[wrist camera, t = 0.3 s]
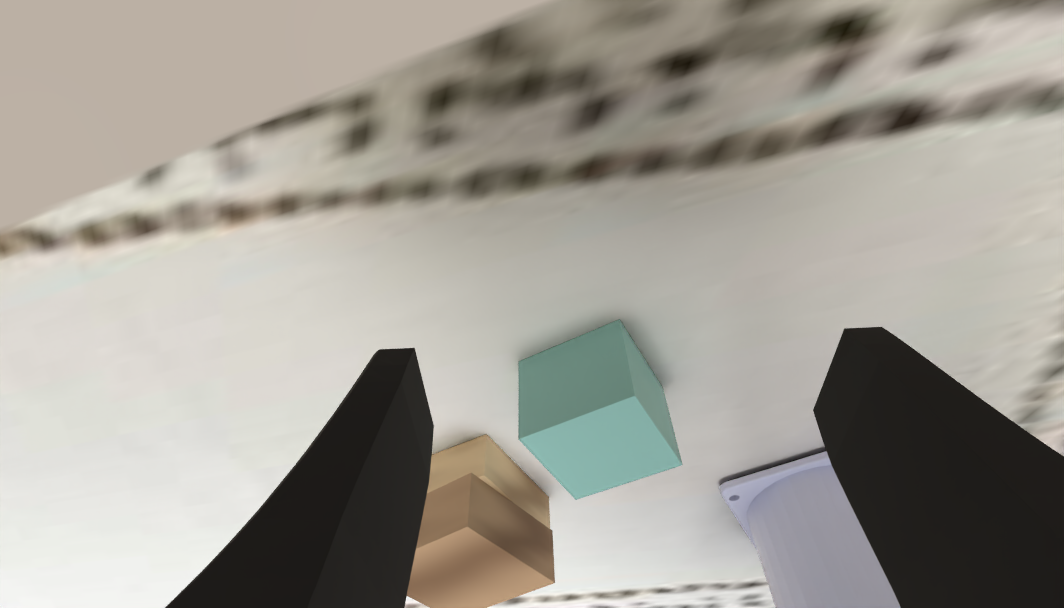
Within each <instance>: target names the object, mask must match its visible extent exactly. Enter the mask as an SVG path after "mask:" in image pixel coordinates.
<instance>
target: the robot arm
mask: <svg viewBox="0 0 1064 608" xmlns="http://www.w3.org/2000/svg"><path fill="white" fill-rule="evenodd" d="M813 411H814V414H815V417H816V421H817V424H818V427H819V430H820V433H821V436H822V440H823V442H824V445H825V448H826V451H825V452H822V453H818V454H815V455H812V456H809V457H805V458H802V459H799V460H796V461H792V462H789V463H786V464H783V465H779V466H776V467H773V468H769V469H766V470H763V471H760V472H756V473H753V474H750V475H747V476H743V477H740V478H737V479H734V480H730V481H727V482H725V483H723V484H721V485H720V487H719V489H720V493H721V496H722V497H723V499H724V500H725V502H726V503H727V505H728V506H729V508H730V509H731V511H732V513H733V514H734V516H735V517H736V519H737V520H738V522H739V523H740V525H741V526H742V528H743V530H744V531H745V533H746V534H747V536H748V537H749V539H750V540H751V542H752V543H753V545H754V546H755V548H756V550H757V551H758V554H759V557H760V561H761V564H762V567H763V570H764V573H765V576H766V579H767V582H768V585H769V588H770V591H771V594H772V597H773V600H774V603H775V607H776V608H1064V456H1062V455H1061V454H1059V453H1058V452H1056V451H1054V450H1053V449H1051V448H1050V447H1049V446H1047V445H1046V444H1044V443H1043V442H1041V441H1040V440H1038V439H1037V438H1035V437H1034V436H1033V435H1031V434H1030V433H1028V432H1027V431H1025V430H1024V429H1022V428H1021V427H1020V426H1018V425H1017V424H1015V423H1014V422H1012V421H1011V420H1010V419H1008V418H1007V417H1005V416H1004V415H1003V414H1001V413H1000V412H998V411H997V410H996V409H994V408H993V407H992V406H990V405H989V404H987V403H986V402H985V401H983V400H982V399H980V398H979V397H978V396H976V395H975V394H974V393H972V392H971V391H970V390H968V389H967V388H965V387H964V386H963V385H961V384H960V383H959V382H957V381H956V380H955V379H953V378H952V377H951V376H949V375H948V374H946V373H945V372H944V371H942V370H941V369H940V368H938V367H937V366H936V365H934V364H933V363H932V362H930V361H929V360H928V359H926V358H925V357H923V356H922V355H921V354H919V353H918V352H917V351H915V350H914V349H913V348H911V347H910V346H908V345H907V344H906V343H904V342H903V341H901V340H900V339H899V338H897V337H896V336H894V335H893V334H891V333H890V332H888V331H887V330H885V329H884V328H882V327H870V328H848V329H844V331H843V334H842V336H841V339H840V342H839V344H838V347H837V349H836V352H835V355H834V357H833V360H832V363H831V365H830V368H829V370H828V373H827V376H826V378H825V381H824V383H823V386H822V389H821V391H820V394H819V397H818V399H817V402H816V404H815V407H814V410H813ZM433 428H434V425H433V421H432V417H431V413H430V409H429V405H428V401H427V397H426V393H425V389H424V385H423V381H422V377H421V373H420V368H419V364H418V360H417V356H416V352H415V348H404V349H381V350H378V351H377V352H376V353H375V354H374V355H373V357H372V358H371V360H370V361H369V363H368V364H367V366H366V367H365V369H364V370H363V372H362V373H361V375H360V376H359V378H358V379H357V381H356V382H355V384H354V385H353V387H352V388H351V390H350V391H349V393H348V394H347V395H346V397H345V398H344V400H343V401H342V403H341V404H340V405H339V407H338V408H337V410H336V411H335V413H334V414H333V415H332V417H331V418H330V419H329V421H328V422H327V424H326V425H325V426H324V428H323V429H322V430H321V432H320V433H319V434H318V436H317V437H316V438H315V440H314V441H313V442H312V444H311V445H310V446H309V448H308V449H307V450H306V452H305V453H304V454H303V456H302V457H301V458H300V460H299V461H298V462H297V463H296V465H295V466H294V467H293V468H292V470H291V471H290V472H289V473H288V474H287V476H286V477H285V478H284V479H283V481H282V482H281V483H280V484H279V485H278V487H277V488H276V489H275V490H274V492H273V493H272V494H271V495H270V496H269V498H268V499H267V500H266V501H265V503H264V504H263V505H262V506H261V507H260V508H259V510H258V511H257V512H256V513H255V514H254V515H253V517H252V518H251V519H250V520H249V521H248V522H247V523H246V524H245V526H244V527H243V528H242V529H241V530H240V531H239V532H238V533H237V535H236V536H235V537H234V538H233V539H232V540H231V541H230V542H229V543H228V544H227V545H226V546H225V547H224V549H223V550H222V551H221V552H220V553H219V554H218V555H217V556H216V557H215V558H214V559H213V560H212V561H211V562H210V563H209V565H208V566H207V567H206V568H205V569H204V570H203V571H202V572H201V573H200V574H199V575H198V576H197V577H196V578H195V579H194V580H193V581H192V582H191V583H190V584H189V585H188V586H187V587H186V588H185V589H184V590H183V591H182V592H181V593H180V594H179V595H178V596H177V597H176V598H175V599H174V600H173V601H171V602H170V603H169V604H168V605H167V606H166V607H165V608H404V606H405V601H406V596H407V591H408V586H409V581H410V576H411V571H412V566H413V561H414V556H415V551H416V546H417V541H418V536H419V531H420V526H421V521H422V516H423V511H424V506H425V501H426V496H427V490H428V485H429V478H430V467H431V456H432V442H433Z"/></svg>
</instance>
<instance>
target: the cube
mask: <svg viewBox="0 0 1064 608" xmlns="http://www.w3.org/2000/svg"><path fill="white" fill-rule="evenodd" d="M519 440H520V441H521V442H522V443H523V444H524V446H525V447H526V448H527V449H528V450H529V451H530V452H531V453H532V454H533V455H534V456H535V457H536V458H537V459H538V460H539V461H540V462H541V463H542V465H543V466H544V467H545V468H546V469H547V470H548V471H549V472H550V473H551V474H552V475H553V476H554V477H555V478H556V479H557V480H558V481H559V483H560V484H561V485H562V486H563V487H564V488H565V489H566V490H567V491H568V492H569V493H570V494H571V495H572V496H573V497H574V498H575V499H576V500H577V499H580V498H583V497H586V496H589V495H592V494H595V493H598V492H601V491H604V490H607V489H610V488H613V487H617V486H620V485H623V484H626V483H629V482H632V481H635V480H638V479H641V478H644V477H647V476H650V475H653V474H656V473H659V472H663V471H666V470H669V469H672V468H675V467H678V466H681V465H682V461H681V457H680V453H679V450H678V446H677V442H676V438H675V434H674V430H673V426H672V422H671V418H670V414H669V410H668V406H667V403H666V399H665V395H664V391H663V388H662V386H661V384H660V383H659V381H658V380H657V378H656V376H655V375H654V373H653V372H652V370H651V369H650V367H649V365H648V364H647V362H646V361H645V359H644V357H643V356H642V354H641V353H640V351H639V350H638V348H637V346H636V345H635V343H634V342H633V340H632V338H631V337H630V335H629V334H628V332H627V331H626V329H625V327H624V326H623V324H622V323H621V321H620V319H619V320H617V321H614V322H612V323H610V324H607V325H605V326H602V327H600V328H598V329H595V330H593V331H591V332H588V333H586V334H583V335H581V336H579V337H576V338H574V339H571V340H569V341H567V342H564V343H562V344H559V345H557V346H555V347H552V348H550V349H548V350H545V351H543V352H540V353H538V354H536V355H533V356H531V357H528V358H526V359H524V360H521V361H519Z"/></svg>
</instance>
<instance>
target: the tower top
mask: <svg viewBox="0 0 1064 608" xmlns="http://www.w3.org/2000/svg"><path fill="white" fill-rule="evenodd" d="M553 583H555V577H554V556H553V535H552V530H551V529H549V528H548V527H546V526H545V525H544V524H542V523H541V522H539V521H538V520H537V519H535V518H534V517H533V516H531V515H530V514H528V513H527V512H526V511H524V510H523V509H521V508H520V507H519V506H517V505H516V504H514V503H513V502H512V501H510V500H509V499H508V498H506V497H505V496H503V495H502V494H501V493H499V492H498V491H496V490H495V489H494V488H492V487H491V486H489V485H488V484H487V483H485V482H484V481H483V480H481V479H480V478H478V477H477V476H476V475H474V474H473V473H469V474H467V475H465V476H463V477H461V478H459V479H457V480H454V481H452V482H450V483H448V484H446V485H444V486H442V487H440V488H438V489H436V490H433V491H431V492H429V493H427V496H426V501H425V506H424V511H423V516H422V521H421V526H420V531H419V536H418V541H417V546H416V551H415V556H414V561H413V566H412V571H411V576H410V581H409V586H408V591H407V596H409V597H410V598H412V599H414V600H416V601H418V602H420V603H422V604H424V605H426V606H428V607H430V608H487V607H489V606H492V605H495V604H498V603H500V602H503V601H506V600H509V599H512V598H514V597H517V596H520V595H523V594H525V593H528V592H531V591H534V590H536V589H539V588H542V587H545V586H547V585H550V584H553Z"/></svg>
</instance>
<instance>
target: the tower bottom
mask: <svg viewBox="0 0 1064 608" xmlns="http://www.w3.org/2000/svg"><path fill="white" fill-rule="evenodd" d="M469 473H473V474H474V475H476V476H477V477H478V478H480V479H481V480H483V481H484V482H485V483H487V484H488V485H489V486H491V487H492V488H494V489H495V490H496V491H498V492H499V493H501V494H502V495H503V496H505V497H506V498H508V499H509V500H510V501H512V502H513V503H514V504H516V505H517V506H519V507H520V508H521V509H523V510H524V511H526V512H527V513H528V514H530V515H531V516H533V517H534V518H535V519H537V520H538V521H539V522H541V523H542V524H544V525H545V526H546V527H548V528H549V529H550V514H549V497H548V496H547V495H546V494H545V493H544V492H543V491H542V490H541V489H540V488H539V487H538V486H537V485H536V484H535V483H534V482H533V481H532V480H531V479H530V478H529V477H528V476H527V475H526V474H525V473H524V472H523V471H522V470H521V469H520V468H519V467H518V466H517V465H516V464H515V463H514V462H513V461H512V460H511V459H510V458H509V457H508V456H507V454H506V453H505V452H504V451H503V450H502V449H501V448H500V447H499V446H498V445H497V444H496V443H495V442H494V441H493V440H492V439H491V438H490V437H489V436H488V435H487V434H486V435H483V436H480V437H478V438H475V439H473V440H470V441H467V442H465V443H462V444H459V445H457V446H454V447H451V448H449V449H446V450H444V451H441V452H438V453H436V454H433V455H432V456H431V467H430V478H429V485H428V490H427V493H429V492H431V491H433V490H436V489H438V488H440V487H442V486H444V485H446V484H448V483H450V482H452V481H454V480H457V479H459V478H461V477H463V476H465V475H467V474H469Z"/></svg>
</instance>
